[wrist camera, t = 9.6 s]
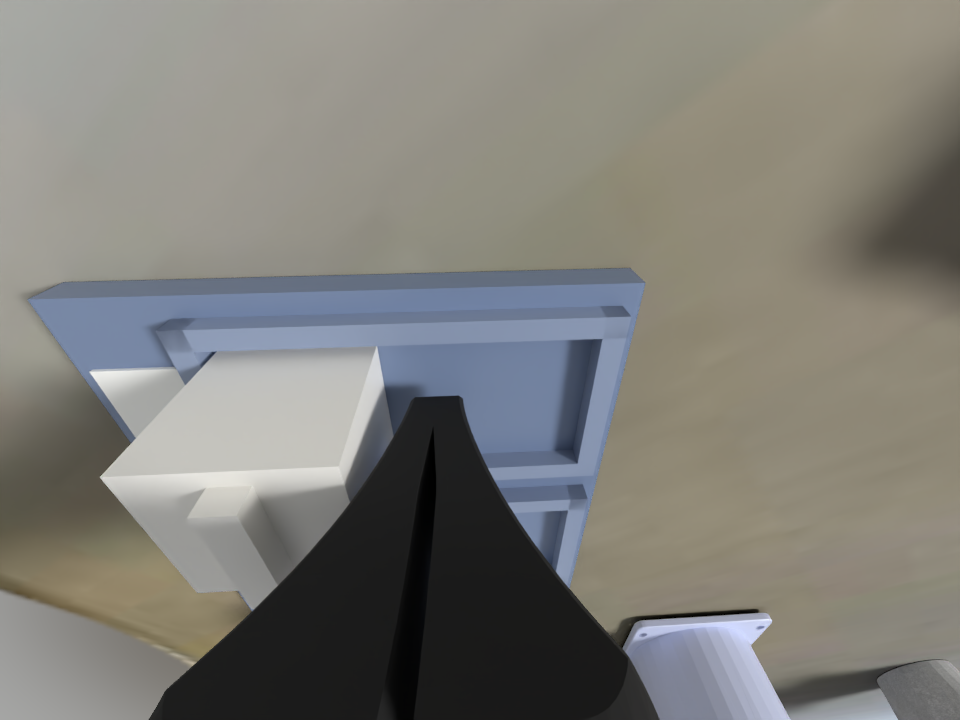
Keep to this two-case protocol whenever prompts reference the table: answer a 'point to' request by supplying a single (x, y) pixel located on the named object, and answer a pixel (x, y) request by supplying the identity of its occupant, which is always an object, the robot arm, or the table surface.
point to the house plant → (923, 691)
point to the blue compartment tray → (394, 359)
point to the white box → (255, 462)
